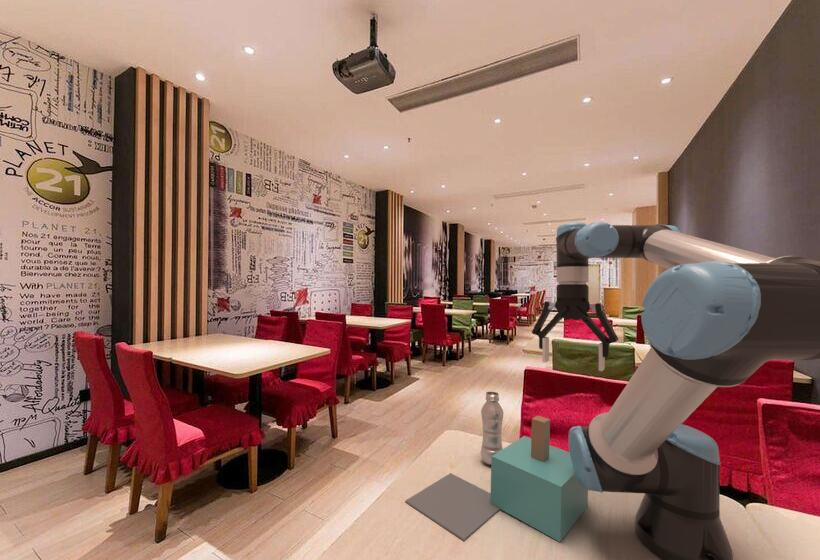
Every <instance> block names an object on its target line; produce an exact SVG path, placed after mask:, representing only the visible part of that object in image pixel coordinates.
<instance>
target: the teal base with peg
mask: <svg viewBox="0 0 820 560" xmlns="http://www.w3.org/2000/svg"><path fill="white" fill-rule="evenodd" d="M550 430H551V419H550V418H547V417H545V416H541V415H535V416H534V417H533V418H531V435H530V436H531V437H529V436H526V435H523V436H522V437H520V438H518V439H517V440H515V441H513V442H512V443H511V444H509V445H507V446H506V447H504V448H503V449H502V450H501V451H499V452H497V453H496V454H494V455H493V456H492V457H491V465H490V493H491V497H490V504H492V505H494V506H496V507H498V508H499V509H501V510H500V511H503V512H504V513H507V514H508V515H511V516H512V517H514V518H516V519H518V520H520V521H521V522H523V523H525V524H527V525H528V526H530V527H532V528H534V529H536V530H537V531H539V532H541V533H543V534H545V535H547V536H548V537H550V538H552V539H554V540H555V541H557V542H559V543H560V542H562V541H563V539H564V538H565V537H566V535H567V534H568V533H569V531H570V530H571V529H572V528H573V526H574V525H575V524H576V522H577V521H578V520H579V518H580V517H581V516H582V514H583V513H584V512H585V510H587V508H588V503H589V490H587V489H585V488H584V487H583V486H582V485H581V483H580V482H579V480H578V478H577V476H576V474H575V471H574V468H573V464H572V461H571V456H570V451H567V450H564V449H561V448H559V447H556V446H553V445H550V443H551V442H550V441H551V439H550V437H551V436H550V434H551V431H550Z"/></svg>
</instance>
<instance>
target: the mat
mask: <svg viewBox="0 0 820 560" xmlns="http://www.w3.org/2000/svg"><path fill="white" fill-rule="evenodd" d="M490 497H491V492H490V491H489V492H488V491H486V490H485V489H484V488H480V487H479V486H477V485H475V484H473V483H471V482H469V481H467V480H466V479H463V478H461V477H460V476H457V475H455V474H453V473H451V472H450V473H448V474H447V475H445V476H443V477H442V478H439V480H437V481H435V482H433V483H432V484H430V485H428V486H427V487H425V488H424V489H422V490H420V491H419V492H417V493H415V494H414V495H412V496H410V497H409V498H407V499H405V502H404V503H406V504H407V505H409V506H410V507H412V508H413V509H415V510H416V511H418V513H420V514H422V515H423V516H425V517H426V518H428V519H430V520H431V521H433V522H434V523H436V524H437V526H440V527H442V528H443V529H444V530H446V531H447V532H449V533H450V534H453V535H454V536H455V537H457V538H458V539H459V540H461V541H463V542H465V541H466V540H467V539H469V538H470V537H471V536H472V535H473V534H474V533H476V531H478V530H480V528H481V527H482V526H484V525H485V524H486V523H487V522H488V521H490V520H491V518H493V516H495V515H496V514H497V513H498V512H499V511H502V510H501V509H499V508H498V507H496V506H494V505H492V504H490Z"/></svg>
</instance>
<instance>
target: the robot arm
mask: <svg viewBox="0 0 820 560" xmlns="http://www.w3.org/2000/svg"><path fill="white" fill-rule="evenodd" d="M555 242H556V282H557V283H558V284H557V285H556V301H555V302H552V301H550V300H549V301H548V300H547V301H544V303H543V308H542V309H543V310H542V312H541V313H540V315H539V317H538V319H537V321H536V323H535V325H534V327H533V328H532V330H531V334H533V335H535V336H537V337H538V349H540V350H541V351H542V353H541V354H542V357H541V358H542V361H541V362H542V363H547V362H550V351H549V350H550V337H549V336H547V335H548V334H549V333H550V332H551V331H552V330H553V329H554V327H556V326H557V325H558V323H559V322H560V321H561V320H562V319H564V320H573V321H579V320H582V322H584V324H585V325H586V326H587V327H588V328H589V329H590V330H591V331H592V332H593V334H594V335H595V336H596V338H598V340H599V341H600V343H598V372H603V371H604V370H605V369H606V365H605V364H606V359H605V358H609V357H610V344H613V343H616V342H618V341H619V337H618V335H617V334H616V332H615V330H614V328H613V326H612V323H610V321H609V319H608V317H607V315H606V313H605V312H604V304H603V303H602V302H598V303H597V302H596V303H592V304H590V302H589V301H590V300H589V292H590V291H589V285H588V284H587V283H588V282H589V267H590V266H589V259H643V260H645V261H648V262H649V263H650V262H651V263H652V264H655V265H657V266H660V267H662V268H665V270H664V271H663V272H661V273H660V274H659V275H658V276H657V277H656V278H655V279H654V280H653V281H652V282H651V284H650V285H649V287H648V288H647V289H646V292H645V294H644V296H643V300H642V303H641V306H642V307H643V308H644V311H642V312H641V313H640V317H641V325H642V330H643V332H644V335H645V336H646V338H647V343H648V345H649V347H650V349H649V350H648V352H647V353H646V355H645V356H644V358H643V359H642V360H641V363H640V364H639V365H638V367H637V368H636V370H635V372H634V373H633V374H632V376H631V378H630V379H629V381H628V382H627V384H626V385H625V387H624V388H623V390H622V391H621V393H620V394H619V395H618V397H617V399H616V400H615V402H614V403H613V405H612V406H611V408H610V409H609V410H608V411H607V412H602V413H598V415H596V416H595V417H593V418H592V420H591V421H590V423H589V424H588V426H581V425H577V426H572V427H571V428H570V429H569V430H568V441H567V442H568V449H569V451H568V452H570V456H571V461H572V464H573V468H574V471H575V474H576V476H577V478H578V480H579V482H580V483H581V485H582V486H583V487H584V488H585V489H587V490H588V491H591V492H597V493H601V494H603V493H605V492H606V493H624V494H627V493H629V494H644V495H643V498H642V500H641V503H640V504H639V507H638V509H637V512H636V513H635V514H636V515H635V518H634V528H635V529H634V531H635V534H636V536H637V537H638V539H639V540H640V542H641V543H642V544H643V546H645V547H646V548H647V549H648V550H649V551H651V552H652V553H653V554H654V555H656V557H657V556H658V557H659V558H661V559H662V560H734V559H733V557H734V556H733V555H734V553H733V550H732V547H731V546H732V545H731V544H730V541H729V538H728V535H727V533H726V531H725V528H724V525H723V523H722V519H721V512H720V505H721V504H720V503H721V502H720V469H721V468H720V467H721V464H722V463H721V461H720V460H721V459H720V452H719V446H718V443H717V442H716V441H715V439H714V438H713V437H711V436H710V435H708V434H706V433H705V432H703V431H700V430H699V429H697V428H694V427H691V426H690V425H686V424H683V423H684V422H685V421H686V420H687V419H688V418H689V417H690V415H692V413H694V411H696V409H697V408H698V407H699V406H700V405H702V403H704V401H705V400H706V399H707V398H709V397H710V395H711V394H712V393H713V392H714V391H715V390H716V389H717V388H732V387H736V386H739V385H741V384H744V383H745V382H747V380H749V378H750V377H751V376H752V375H753V374H754V373H755V372H756V371H758V369H759V368H760V367H762V366H763V365H764V364H765V363H767V362H770V361H774V360H776V361H777V360H779V361H783V360H784V361H820V260H819V261H818V260H814V259H810V258H807V257H802V256H797V255H784V256H779V257H772V256H768V255H764V254H760V253H757V252H753V251H750V250H745V249H742V248H739V247H735V246H731V245H727V244H725V243H724V244H723V243H720V242H716V241H714V240H713V241H712V240H710V239H709V240H708V239H705V238H702V237H701V238H700V237H697V236H693V235H690V234H685V233H682V231H681V230H680V229H679V228H678V227H677V226H675V225H669V224H668V225H667V224H661V223H660V224H659V223H658V224H640V225H639V224H634V225H633V224H632V225H629V224H627V225H626V224H625V225H624V224H618V225H617V224H609V223H607V222H603V221H598V222H591V223H588V224H586V223H584V222H568V223H567V222H566V223H565V224H564V223H562V224H561V225H559V226H558V227H557V229H556V237H555ZM554 308H555V310H556V311H557V313H556V314H555V315H554V316H553V318H552V319H551V320H550V321H549V322H548V323H547V324H546V325H545V326H544V324H545V322H546V320H547V319H548V317H549V315H550V313H551V311H553V309H554ZM590 310H592V312H593V313H595V314H596V316H597V318H598V320H599V322H600V323H601V326H602V327H603V329H604V331H605V332H606V334H605V333H604V332H603V330H602V329H601V328H600V327H599V326H598V324H596V322H594V320H593V319H592V317H591V316H590V315H589V314H588V312H589V311H590ZM543 327H544V328H543Z"/></svg>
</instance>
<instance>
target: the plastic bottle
mask: <svg viewBox="0 0 820 560" xmlns="http://www.w3.org/2000/svg"><path fill="white" fill-rule="evenodd" d="M499 395H500V394H499V393H498V392H495V391H486V393H485V400H486V401H485V403H484V404H483V405H482V407H481V411H480V413H481V415H480V416H481V422H482V443H481V449H480V456H481V460H482V461H483V462H484V464H486V465H488V466H491V457H492V456H493V455H494V454H496V453H497V452H499V451H501V450H502V449H504V448H503V441H502V440H503V439H502V433H503V432H502V430H503V421H504V410H503V408H502V406H501V405H500V403H499V401H500V397H499Z"/></svg>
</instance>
